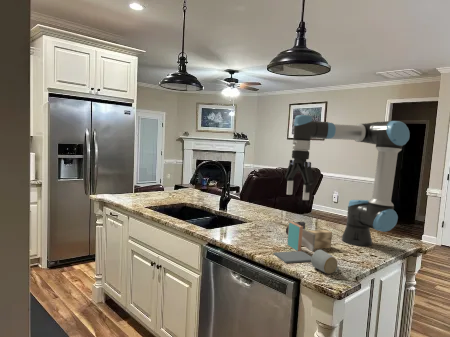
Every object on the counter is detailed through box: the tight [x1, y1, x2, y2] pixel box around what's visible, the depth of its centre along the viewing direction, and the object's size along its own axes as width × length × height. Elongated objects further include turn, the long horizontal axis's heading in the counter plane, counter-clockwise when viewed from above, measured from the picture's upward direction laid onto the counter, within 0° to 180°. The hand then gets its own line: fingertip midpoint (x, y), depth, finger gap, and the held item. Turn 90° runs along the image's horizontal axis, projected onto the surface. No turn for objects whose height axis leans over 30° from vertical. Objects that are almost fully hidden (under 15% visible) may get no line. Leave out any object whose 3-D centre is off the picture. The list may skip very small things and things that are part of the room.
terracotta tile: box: [286, 221, 303, 251], centre depth 157 cm, size 2×10×12 cm, turn 19°
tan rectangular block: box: [301, 228, 333, 252], centre depth 162 cm, size 13×10×8 cm
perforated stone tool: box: [285, 221, 306, 236], centre depth 183 cm, size 15×5×7 cm, turn 123°
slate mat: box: [272, 250, 312, 264], centre depth 144 cm, size 15×11×1 cm
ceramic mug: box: [310, 249, 340, 275], centre depth 131 cm, size 11×8×8 cm
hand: (297, 197), depth 147 cm, fingers open, 13 cm apart
